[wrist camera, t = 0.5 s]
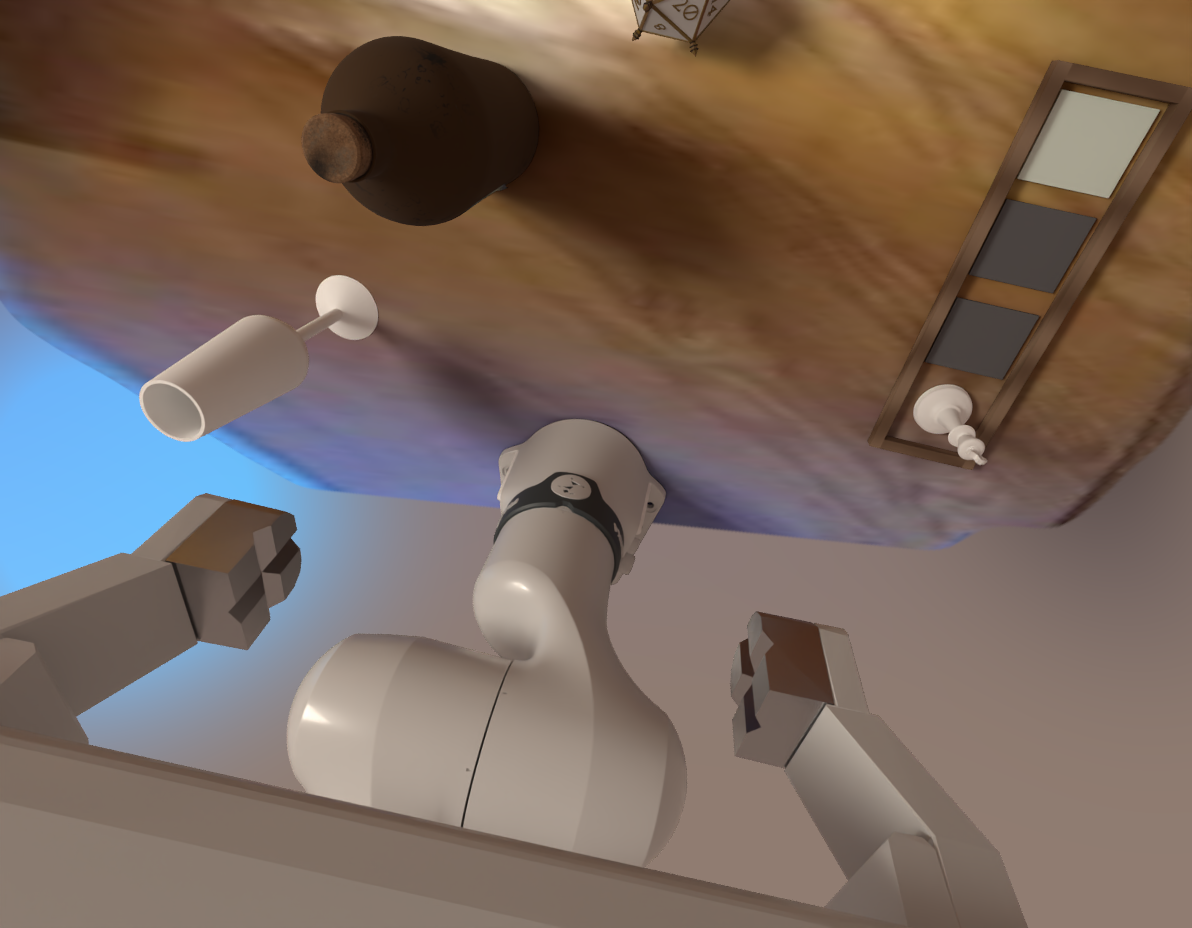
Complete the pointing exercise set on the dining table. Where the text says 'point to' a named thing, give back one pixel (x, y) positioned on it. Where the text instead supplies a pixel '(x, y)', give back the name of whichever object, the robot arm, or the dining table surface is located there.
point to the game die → (676, 18)
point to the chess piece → (950, 419)
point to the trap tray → (1121, 205)
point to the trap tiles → (1016, 256)
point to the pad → (1086, 143)
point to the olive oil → (421, 130)
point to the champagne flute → (250, 364)
